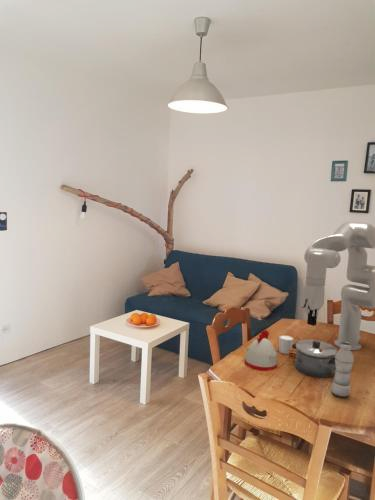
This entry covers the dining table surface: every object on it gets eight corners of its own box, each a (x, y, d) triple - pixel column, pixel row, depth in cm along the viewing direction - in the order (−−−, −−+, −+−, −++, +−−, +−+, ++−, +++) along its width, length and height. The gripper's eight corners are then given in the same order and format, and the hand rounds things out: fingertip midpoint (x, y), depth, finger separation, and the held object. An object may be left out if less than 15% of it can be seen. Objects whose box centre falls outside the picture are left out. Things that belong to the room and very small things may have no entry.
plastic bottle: (327, 390, 146) (332, 340, 144) (344, 390, 147) (350, 340, 144) (335, 399, 140) (341, 346, 137) (353, 399, 141) (359, 347, 138)
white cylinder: (292, 355, 179) (294, 341, 178) (277, 353, 180) (279, 339, 179) (292, 349, 186) (293, 336, 185) (277, 348, 187) (278, 334, 186)
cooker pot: (302, 356, 178) (304, 337, 177) (356, 376, 159) (358, 356, 158) (281, 364, 167) (283, 345, 166) (336, 388, 149) (338, 366, 147)
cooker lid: (309, 339, 175) (309, 332, 175) (343, 351, 163) (344, 344, 162) (288, 347, 164) (289, 340, 164) (323, 360, 152) (324, 352, 152)
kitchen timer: (282, 364, 168) (285, 331, 166) (266, 374, 158) (269, 339, 156) (255, 354, 177) (258, 323, 175) (238, 363, 167) (240, 330, 165)
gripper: (316, 277, 163) (313, 318, 166) (296, 281, 154) (293, 325, 156) (333, 280, 158) (329, 323, 161) (313, 285, 148) (309, 330, 151)
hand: (311, 324), depth 158 cm, fingers closed
